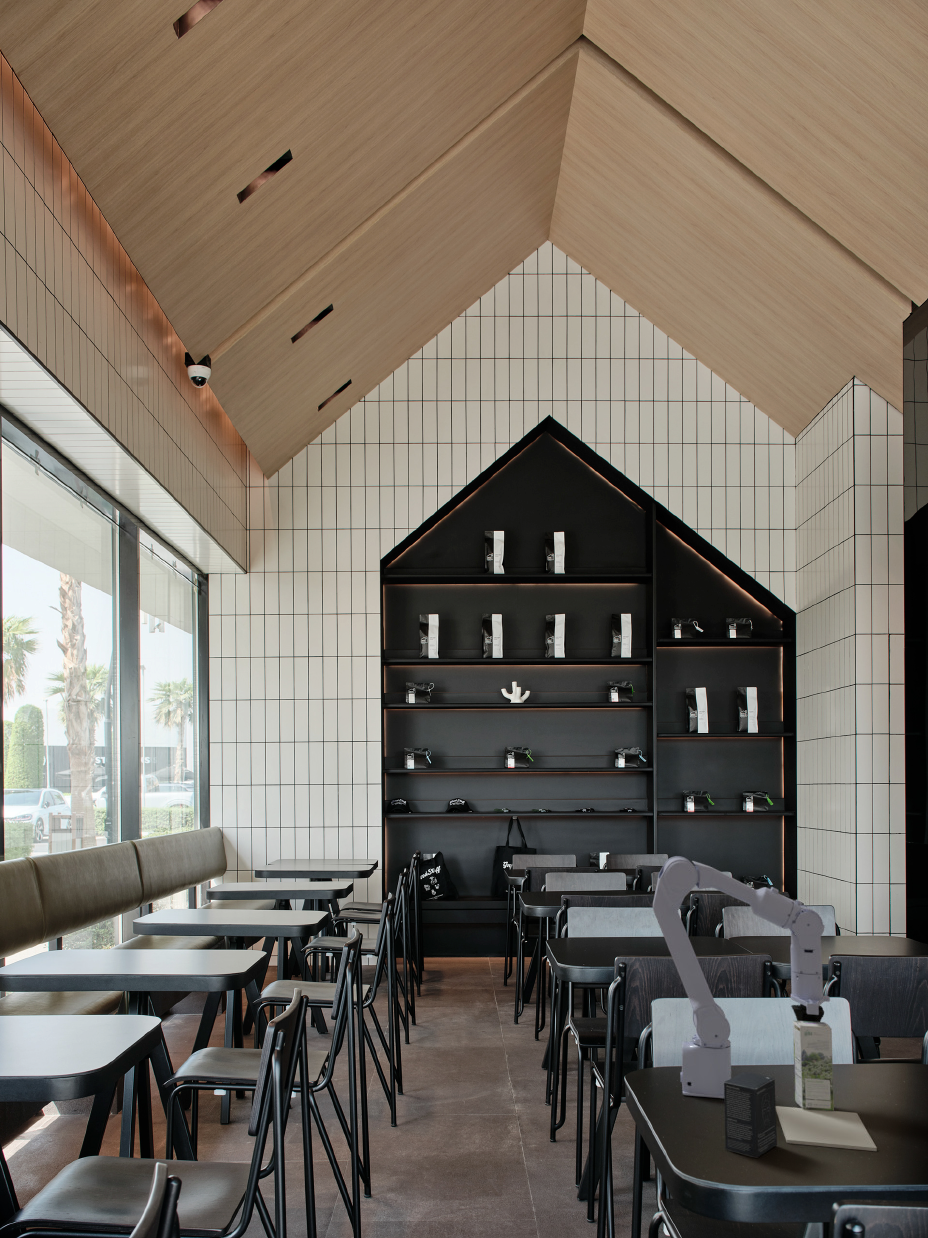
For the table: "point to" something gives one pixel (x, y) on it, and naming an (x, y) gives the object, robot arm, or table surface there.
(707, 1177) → the table surface
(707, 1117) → the table surface
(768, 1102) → the box
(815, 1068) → the syrup box
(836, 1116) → the mat
